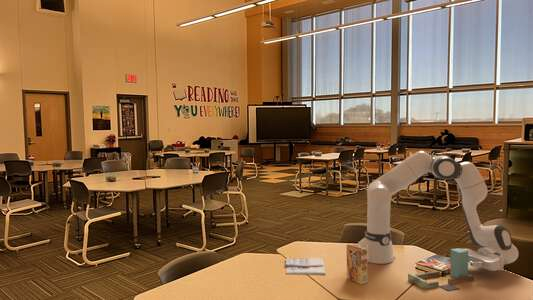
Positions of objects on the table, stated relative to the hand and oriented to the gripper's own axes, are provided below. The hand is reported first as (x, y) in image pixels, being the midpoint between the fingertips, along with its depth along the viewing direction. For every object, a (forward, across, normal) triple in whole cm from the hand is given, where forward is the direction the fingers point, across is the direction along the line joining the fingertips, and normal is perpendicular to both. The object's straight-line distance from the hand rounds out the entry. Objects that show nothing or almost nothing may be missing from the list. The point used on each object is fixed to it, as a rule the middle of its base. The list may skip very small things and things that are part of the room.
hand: (463, 260), depth 182 cm
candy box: (+46, -13, +7) cm, 49 cm away
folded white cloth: (+60, -37, +8) cm, 71 cm away
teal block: (+2, 0, +7) cm, 7 cm away
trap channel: (+13, 0, +7) cm, 15 cm away
